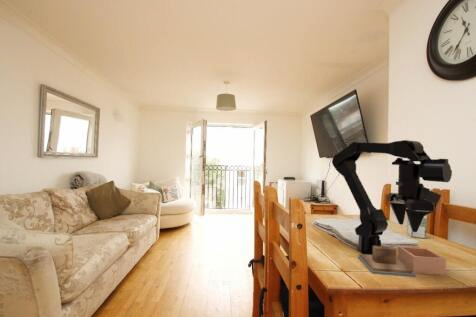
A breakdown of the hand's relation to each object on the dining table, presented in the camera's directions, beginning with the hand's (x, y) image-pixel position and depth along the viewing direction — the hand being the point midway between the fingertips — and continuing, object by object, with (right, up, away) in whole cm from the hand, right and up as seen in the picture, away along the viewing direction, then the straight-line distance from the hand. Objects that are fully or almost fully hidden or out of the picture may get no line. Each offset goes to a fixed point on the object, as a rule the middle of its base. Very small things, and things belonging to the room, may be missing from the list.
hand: (407, 227), depth 81 cm
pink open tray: (+3, -13, -1) cm, 13 cm away
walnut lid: (-8, -11, -1) cm, 14 cm away
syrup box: (+26, -13, +33) cm, 44 cm away
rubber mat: (-8, -12, -1) cm, 14 cm away
